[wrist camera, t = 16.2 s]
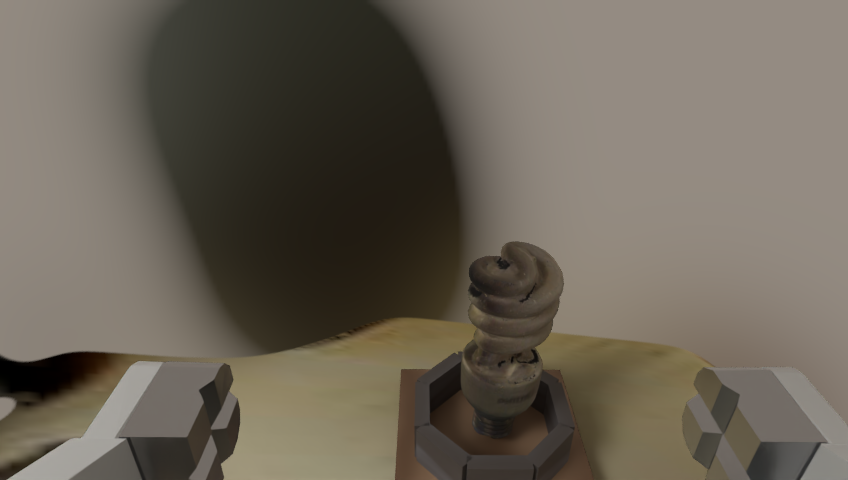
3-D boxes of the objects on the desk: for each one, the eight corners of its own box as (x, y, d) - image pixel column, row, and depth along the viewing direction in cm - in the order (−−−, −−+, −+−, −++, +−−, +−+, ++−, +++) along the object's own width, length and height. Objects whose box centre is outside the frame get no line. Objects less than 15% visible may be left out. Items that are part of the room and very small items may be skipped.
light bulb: (506, 395, 41) (530, 223, 34) (551, 448, 37) (589, 264, 30) (442, 419, 39) (453, 240, 32) (481, 479, 35) (504, 287, 28)
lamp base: (393, 533, 33) (391, 487, 31) (401, 382, 45) (400, 340, 42) (602, 534, 33) (615, 488, 31) (557, 383, 45) (564, 341, 42)
